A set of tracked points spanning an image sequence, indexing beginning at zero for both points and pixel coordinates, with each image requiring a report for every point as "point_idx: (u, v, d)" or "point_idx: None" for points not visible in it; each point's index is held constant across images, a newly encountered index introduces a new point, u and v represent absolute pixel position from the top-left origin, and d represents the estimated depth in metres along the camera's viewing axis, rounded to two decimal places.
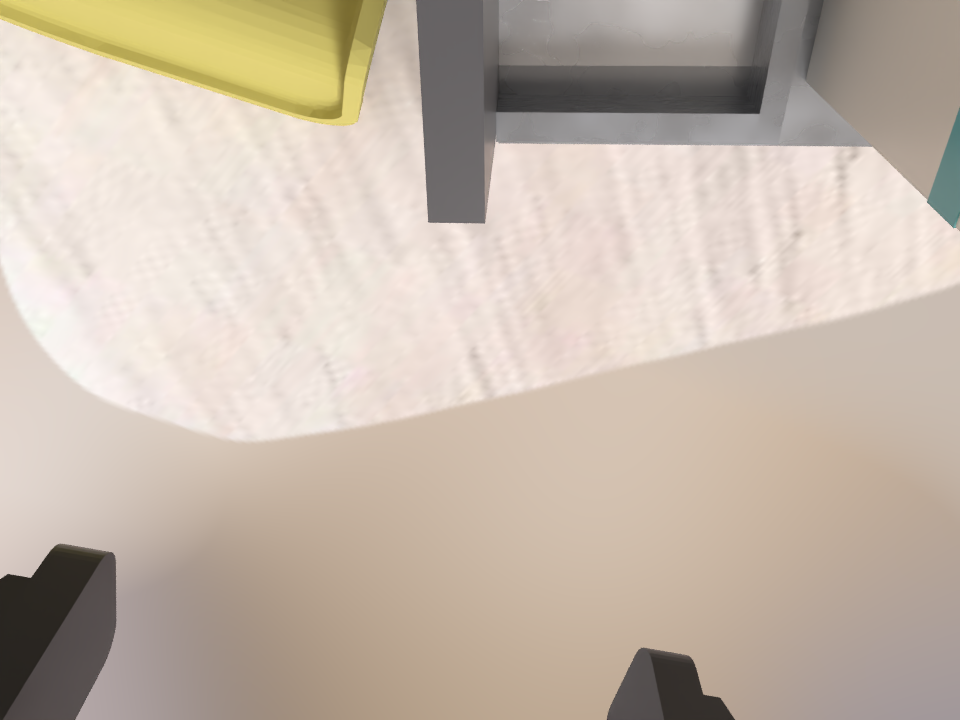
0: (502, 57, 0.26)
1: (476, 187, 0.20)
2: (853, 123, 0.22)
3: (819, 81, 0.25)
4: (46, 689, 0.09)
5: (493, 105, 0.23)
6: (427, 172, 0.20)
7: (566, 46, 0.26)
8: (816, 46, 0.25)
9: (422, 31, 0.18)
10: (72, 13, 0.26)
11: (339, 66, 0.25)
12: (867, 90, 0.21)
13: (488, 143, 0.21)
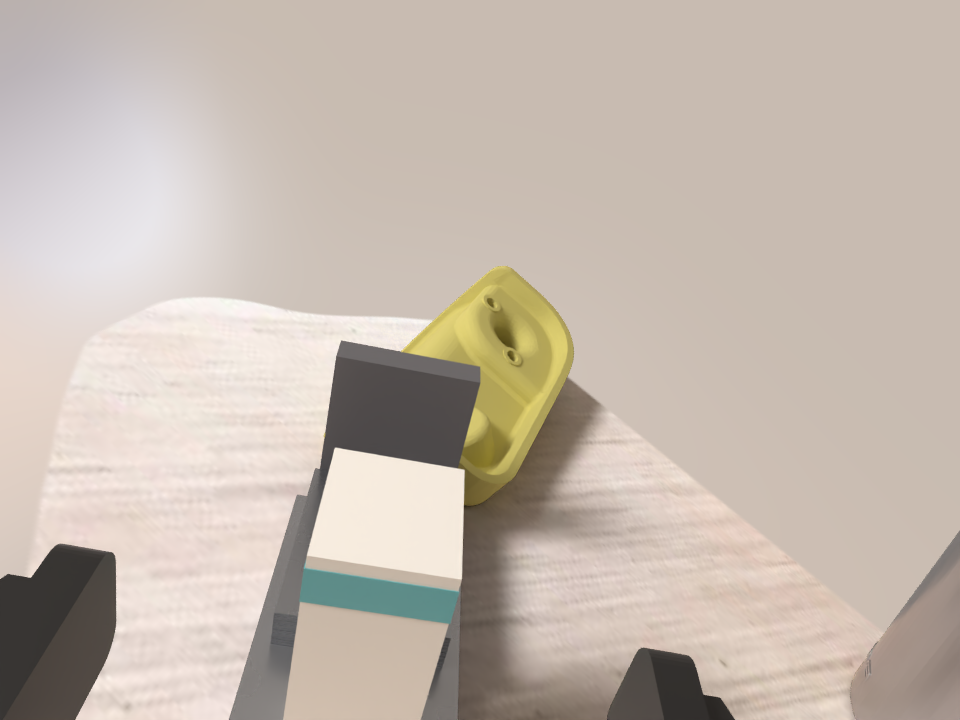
0: None
1: (357, 357, 0.37)
2: None
3: None
4: (46, 689, 0.09)
5: (354, 444, 0.39)
6: (368, 346, 0.38)
7: None
8: None
9: (436, 359, 0.38)
10: None
11: None
12: None
13: (360, 396, 0.38)
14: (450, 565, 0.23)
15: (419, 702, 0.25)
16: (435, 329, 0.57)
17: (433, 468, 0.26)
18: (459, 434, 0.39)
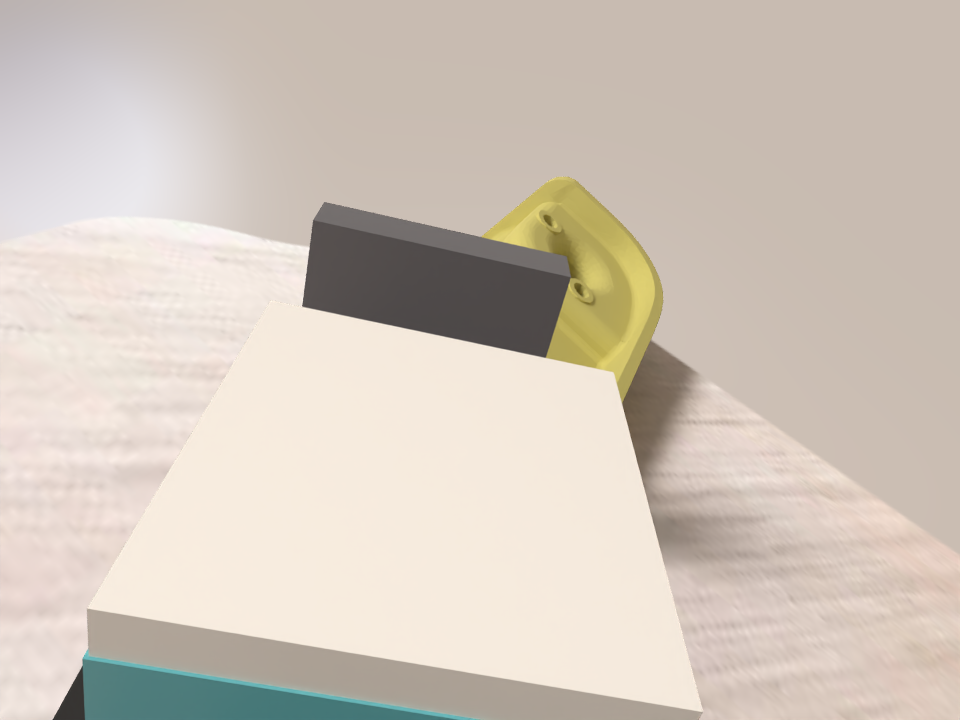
0: None
1: (352, 225, 0.20)
2: None
3: None
4: None
5: None
6: (372, 213, 0.22)
7: None
8: None
9: (490, 240, 0.22)
10: None
11: None
12: None
13: (356, 300, 0.21)
14: (644, 651, 0.06)
15: None
16: None
17: (534, 363, 0.10)
18: None
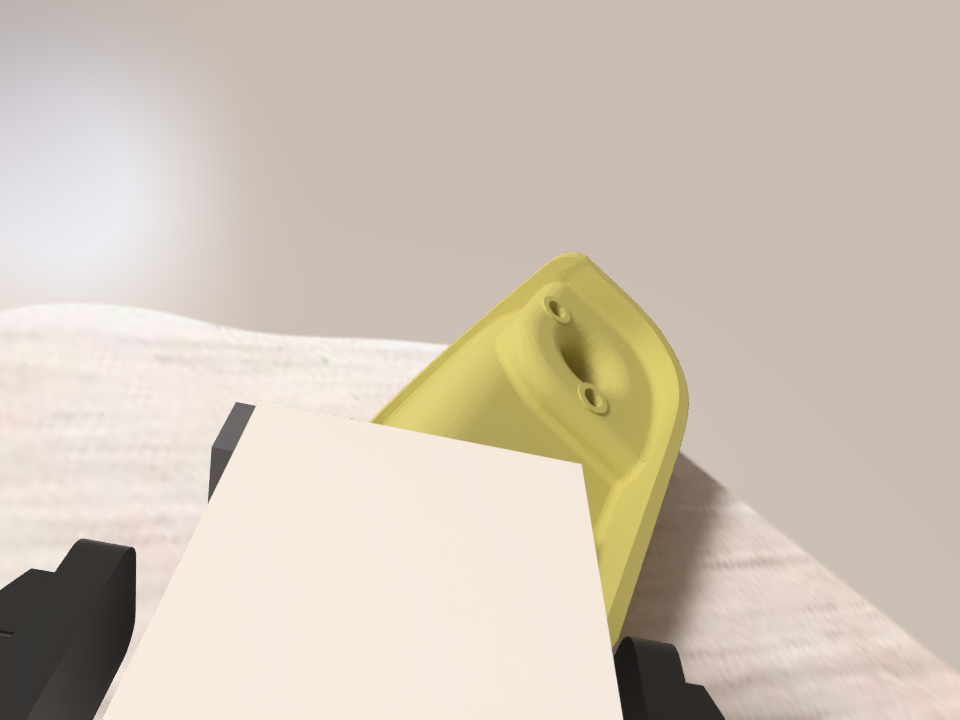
0: None
1: None
2: None
3: None
4: (71, 681, 0.10)
5: None
6: None
7: None
8: None
9: None
10: (417, 402, 0.32)
11: None
12: None
13: None
14: None
15: None
16: (463, 350, 0.35)
17: (506, 458, 0.10)
18: None
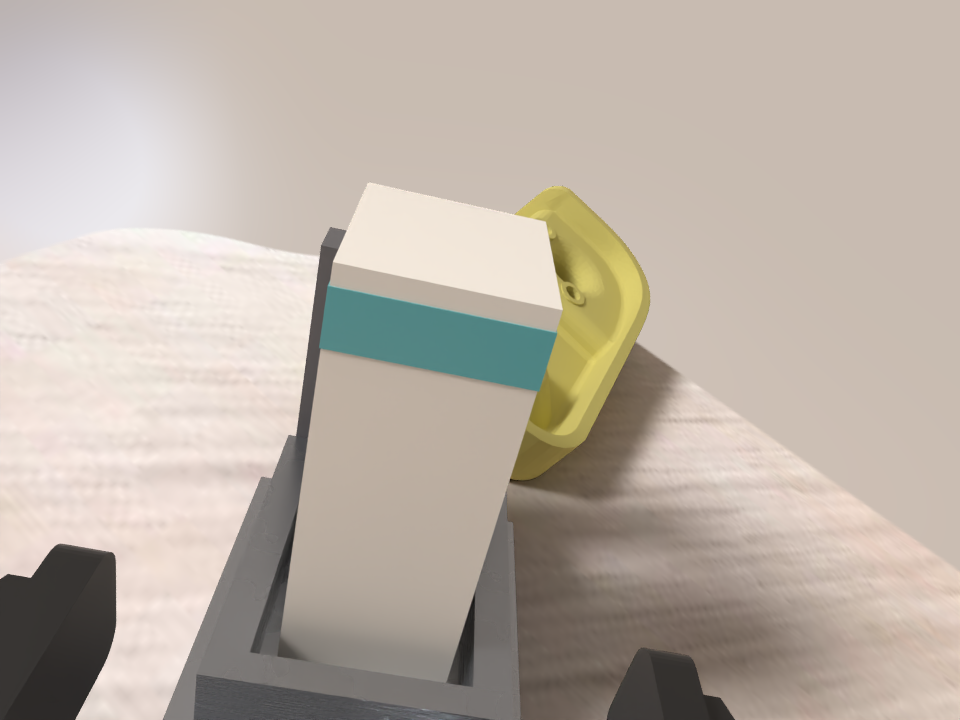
0: None
1: None
2: None
3: None
4: (46, 689, 0.09)
5: None
6: None
7: None
8: None
9: None
10: None
11: None
12: None
13: None
14: (543, 295, 0.15)
15: (485, 530, 0.18)
16: None
17: (503, 215, 0.19)
18: None
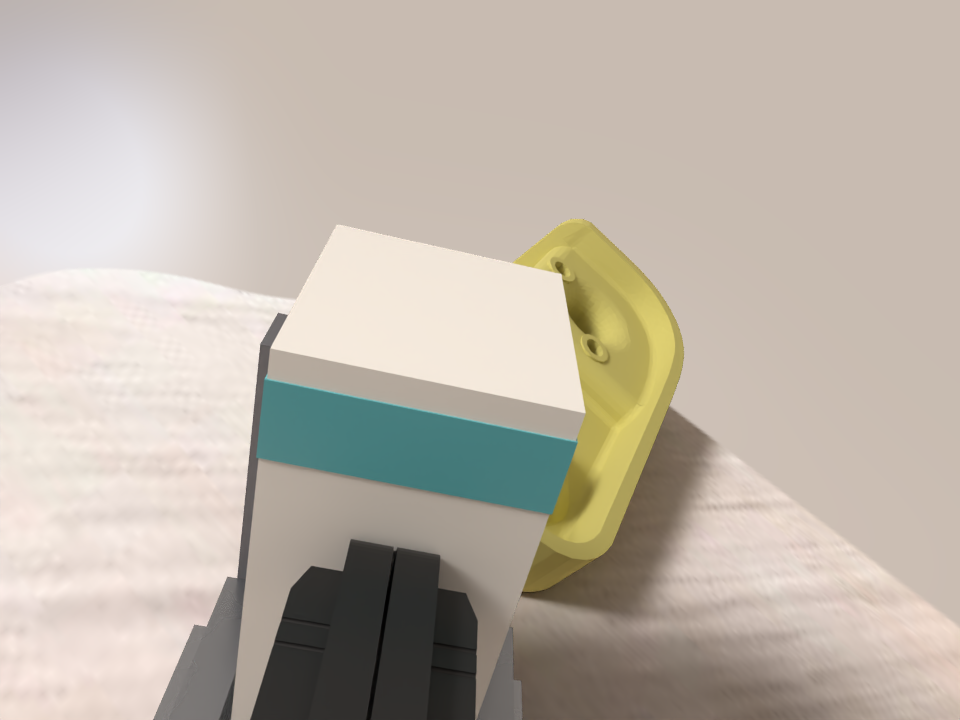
0: None
1: None
2: None
3: None
4: None
5: None
6: None
7: None
8: None
9: None
10: None
11: None
12: None
13: None
14: (558, 390, 0.11)
15: (480, 677, 0.14)
16: None
17: (508, 266, 0.15)
18: None
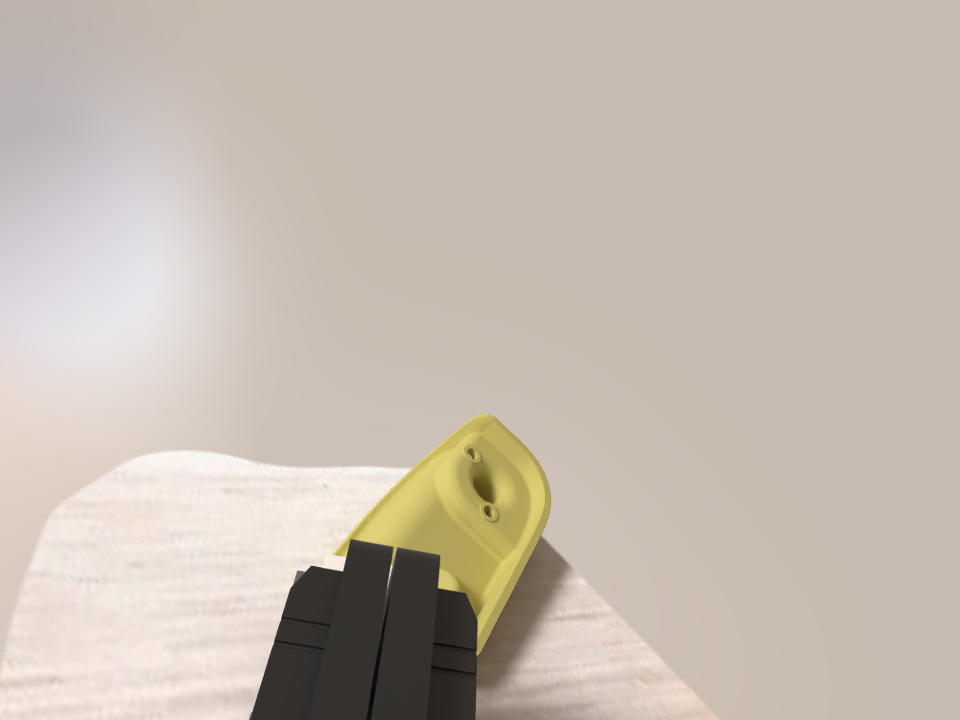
0: None
1: None
2: None
3: None
4: None
5: None
6: None
7: None
8: None
9: None
10: (386, 512, 0.55)
11: None
12: None
13: None
14: None
15: None
16: (417, 475, 0.58)
17: None
18: None
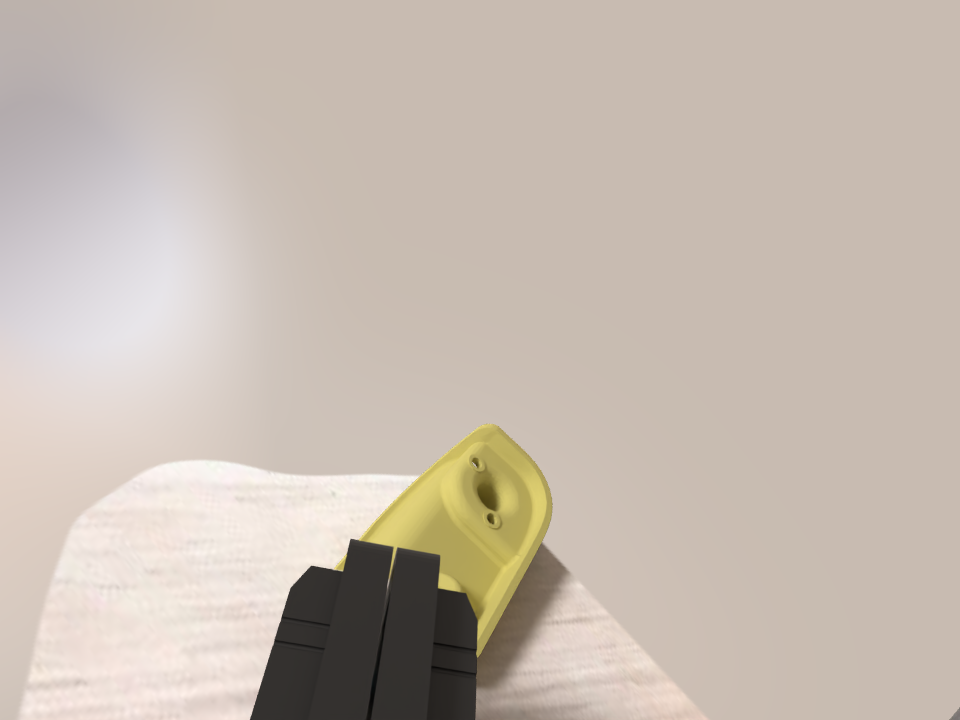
0: None
1: None
2: None
3: None
4: None
5: None
6: None
7: None
8: None
9: None
10: (394, 519, 0.58)
11: None
12: None
13: None
14: None
15: None
16: (424, 483, 0.61)
17: None
18: None
